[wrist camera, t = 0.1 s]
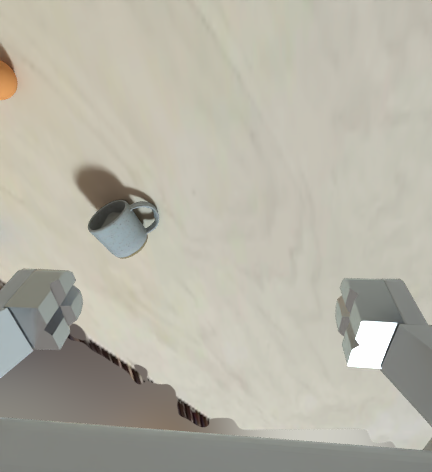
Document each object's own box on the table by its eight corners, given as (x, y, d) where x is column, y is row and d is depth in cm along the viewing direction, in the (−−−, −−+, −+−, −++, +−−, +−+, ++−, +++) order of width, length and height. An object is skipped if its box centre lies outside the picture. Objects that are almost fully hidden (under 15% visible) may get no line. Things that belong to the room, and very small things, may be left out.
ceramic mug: (122, 239, 63) (110, 267, 57) (96, 207, 58) (79, 234, 52) (169, 223, 59) (161, 251, 53) (145, 187, 55) (133, 215, 49)
